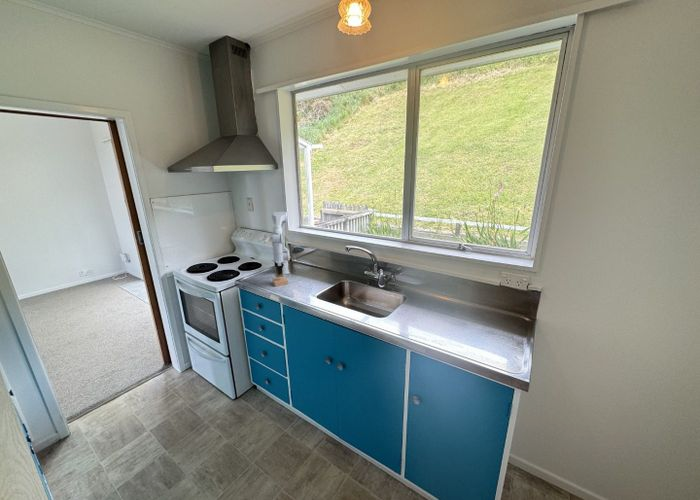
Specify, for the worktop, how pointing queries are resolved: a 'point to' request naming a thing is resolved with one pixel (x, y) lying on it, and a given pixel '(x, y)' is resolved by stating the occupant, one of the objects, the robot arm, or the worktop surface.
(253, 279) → the worktop surface
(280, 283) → the peach slab
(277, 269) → the robot arm
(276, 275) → the walnut block
